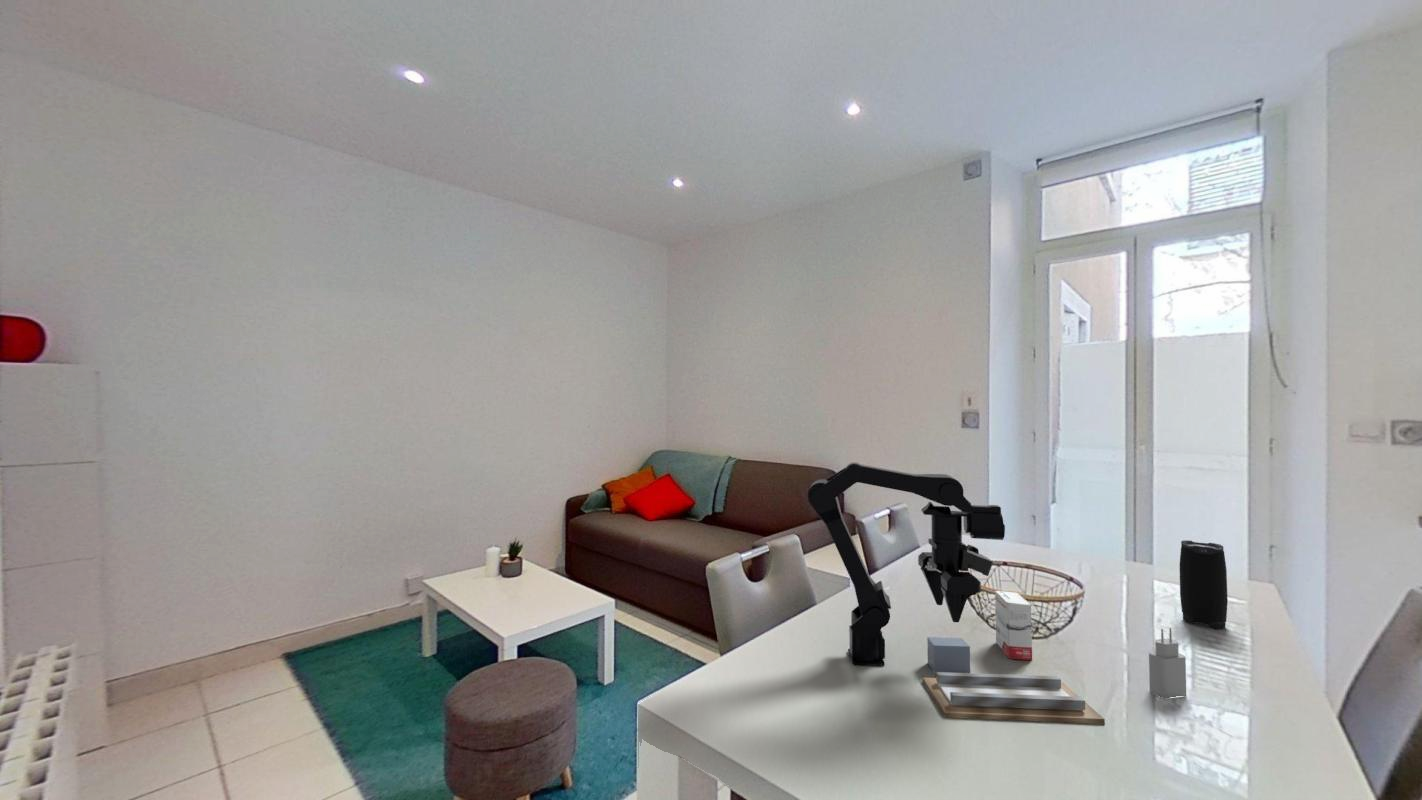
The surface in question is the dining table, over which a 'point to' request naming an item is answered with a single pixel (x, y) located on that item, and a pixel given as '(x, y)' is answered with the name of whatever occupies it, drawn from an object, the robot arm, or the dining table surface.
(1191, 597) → the portable speaker
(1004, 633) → the ink box
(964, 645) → the block
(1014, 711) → the rail mount
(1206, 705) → the dining table surface
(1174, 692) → the power adapter
